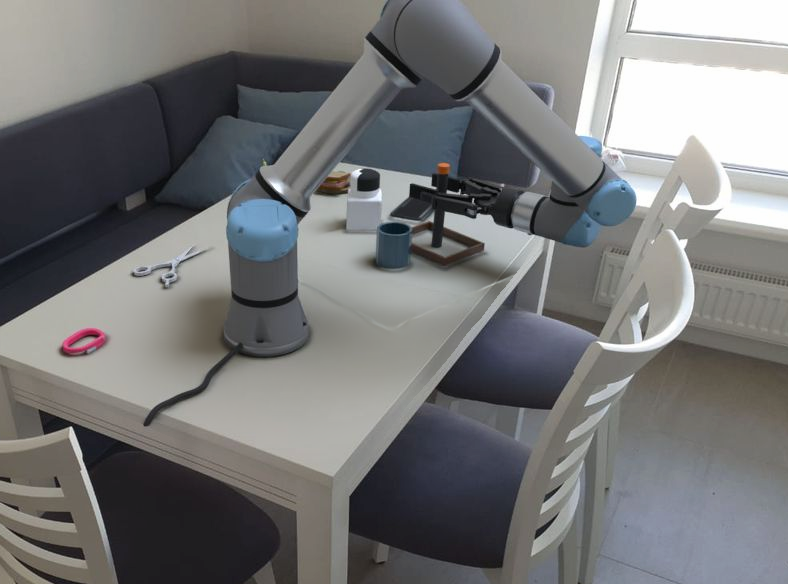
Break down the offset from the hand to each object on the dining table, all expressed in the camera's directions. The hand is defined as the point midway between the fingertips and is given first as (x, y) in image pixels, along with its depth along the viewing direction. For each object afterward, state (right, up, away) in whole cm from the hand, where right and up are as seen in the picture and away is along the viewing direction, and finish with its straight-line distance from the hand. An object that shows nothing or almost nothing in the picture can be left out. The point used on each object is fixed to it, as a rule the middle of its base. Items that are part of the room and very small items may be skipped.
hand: (421, 184), depth 169 cm
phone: (+2, -1, +23) cm, 23 cm away
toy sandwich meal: (-16, +9, +38) cm, 42 cm away
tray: (+4, -13, +5) cm, 14 cm away
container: (-11, -6, +16) cm, 20 cm away
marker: (+4, -12, +4) cm, 14 cm away
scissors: (-52, -17, +1) cm, 55 cm away
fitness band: (-65, -35, -26) cm, 78 cm away
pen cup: (-6, -17, -1) cm, 18 cm away
